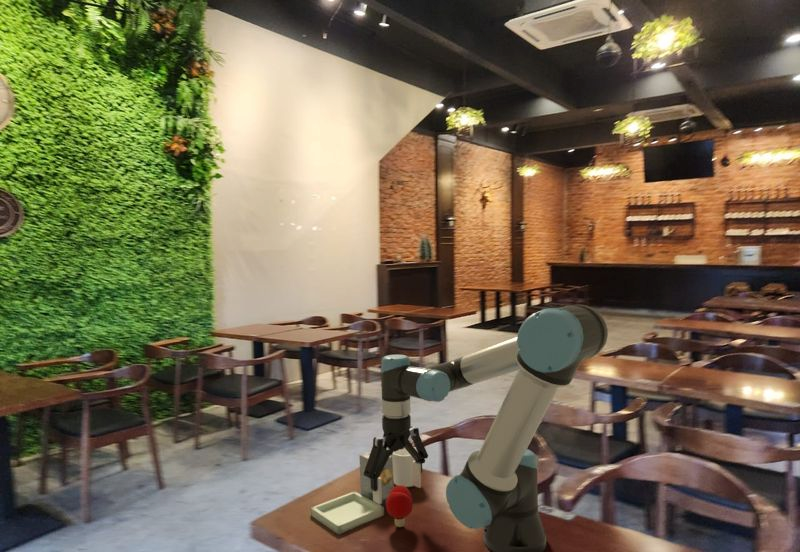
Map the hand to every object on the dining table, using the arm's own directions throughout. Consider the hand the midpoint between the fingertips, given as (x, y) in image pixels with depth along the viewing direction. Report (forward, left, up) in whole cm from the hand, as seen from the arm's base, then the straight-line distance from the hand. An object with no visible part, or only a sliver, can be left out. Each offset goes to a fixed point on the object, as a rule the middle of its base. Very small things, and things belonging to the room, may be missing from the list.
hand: (397, 493), depth 136 cm
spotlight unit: (+17, -6, -9) cm, 20 cm away
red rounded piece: (0, 0, -9) cm, 9 cm away
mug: (+20, -20, -9) cm, 29 cm away
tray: (+15, +6, -9) cm, 18 cm away
